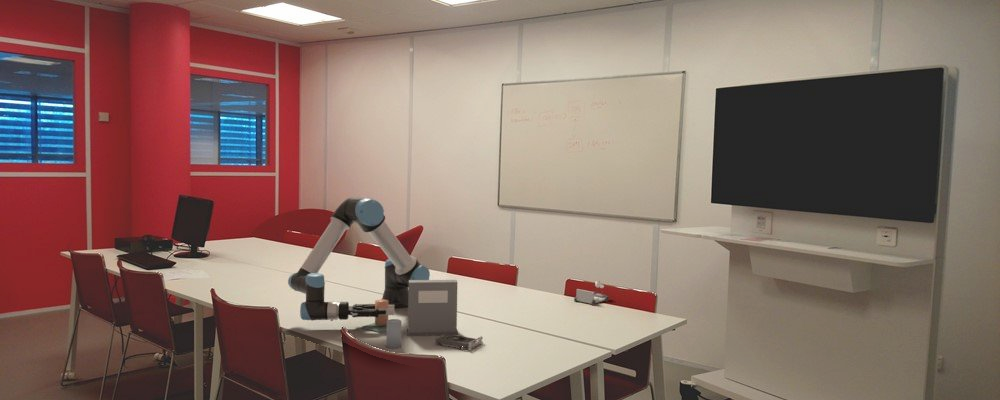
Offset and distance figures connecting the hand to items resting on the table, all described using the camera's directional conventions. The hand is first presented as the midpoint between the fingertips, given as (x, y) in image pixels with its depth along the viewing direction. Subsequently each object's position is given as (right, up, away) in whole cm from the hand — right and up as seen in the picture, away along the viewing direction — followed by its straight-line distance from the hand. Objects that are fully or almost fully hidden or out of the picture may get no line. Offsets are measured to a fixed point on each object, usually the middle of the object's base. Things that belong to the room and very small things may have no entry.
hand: (394, 309), depth 262 cm
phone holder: (+94, -6, +58) cm, 111 cm away
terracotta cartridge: (-5, -6, 0) cm, 8 cm away
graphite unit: (+17, -8, -7) cm, 20 cm away
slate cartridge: (+4, -10, -26) cm, 28 cm away
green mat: (-5, -8, 0) cm, 9 cm away
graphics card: (+29, -10, -21) cm, 38 cm away
